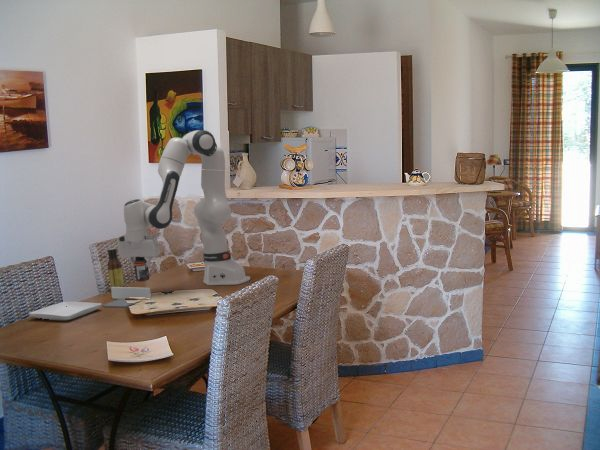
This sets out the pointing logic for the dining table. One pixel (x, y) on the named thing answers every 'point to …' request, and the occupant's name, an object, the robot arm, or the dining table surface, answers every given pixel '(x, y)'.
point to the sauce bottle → (115, 269)
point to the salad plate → (65, 310)
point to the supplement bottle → (141, 269)
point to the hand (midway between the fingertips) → (141, 266)
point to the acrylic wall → (130, 292)
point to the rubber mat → (118, 304)
